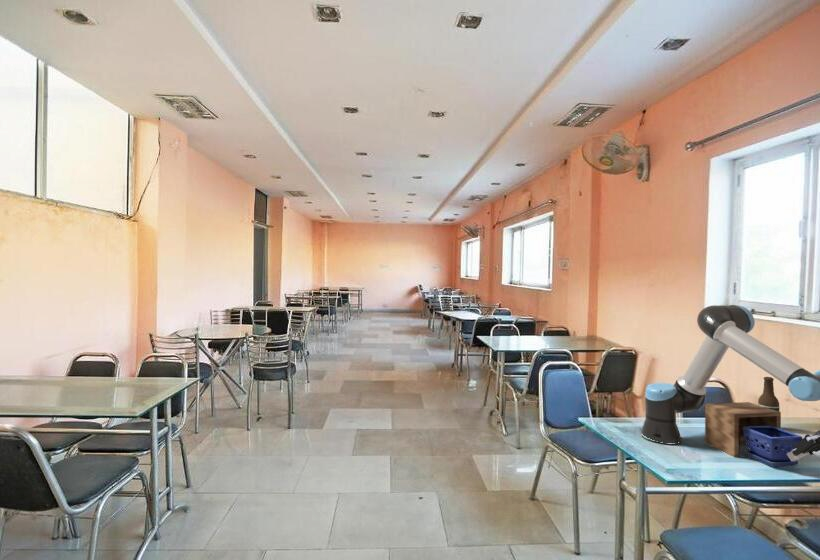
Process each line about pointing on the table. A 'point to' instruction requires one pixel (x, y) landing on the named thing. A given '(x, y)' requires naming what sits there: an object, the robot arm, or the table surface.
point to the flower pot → (770, 445)
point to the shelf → (735, 423)
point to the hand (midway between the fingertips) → (790, 457)
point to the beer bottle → (768, 395)
